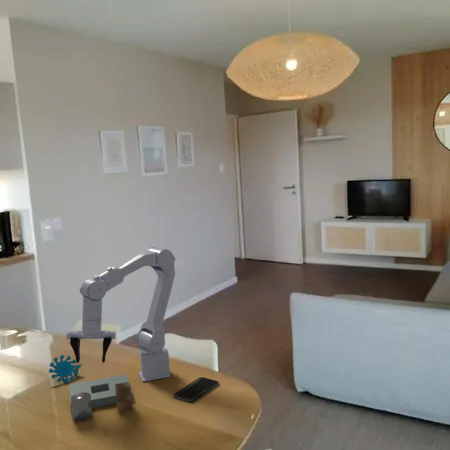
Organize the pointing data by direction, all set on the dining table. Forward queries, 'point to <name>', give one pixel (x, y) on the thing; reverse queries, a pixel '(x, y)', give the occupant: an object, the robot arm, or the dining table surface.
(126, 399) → the walnut peg
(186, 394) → the phone
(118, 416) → the dining table surface
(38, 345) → the dining table surface
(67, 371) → the teal spiky virus toy
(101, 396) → the socket plate
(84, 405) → the gunmetal plug
